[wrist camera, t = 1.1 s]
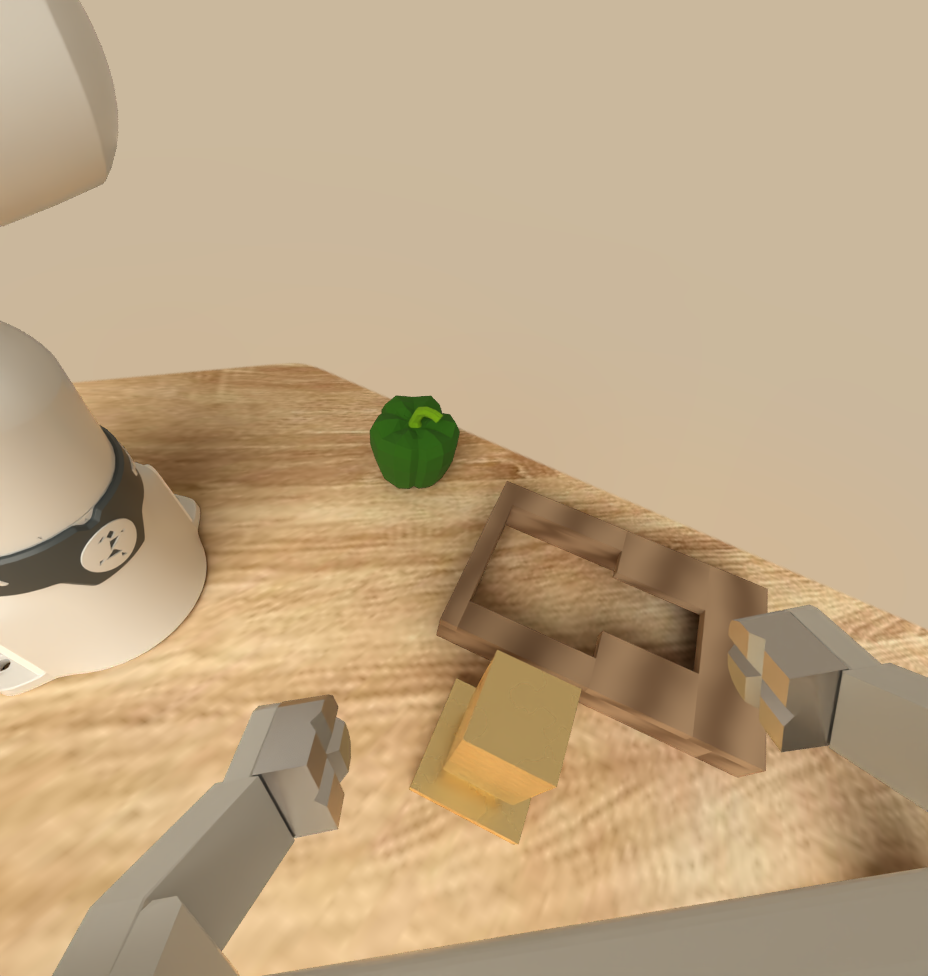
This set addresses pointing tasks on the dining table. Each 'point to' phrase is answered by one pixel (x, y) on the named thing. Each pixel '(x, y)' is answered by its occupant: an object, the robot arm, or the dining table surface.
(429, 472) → the bell pepper
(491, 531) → the walnut keyhole plate
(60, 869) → the dining table surface
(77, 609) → the robot arm
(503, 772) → the brass peg
